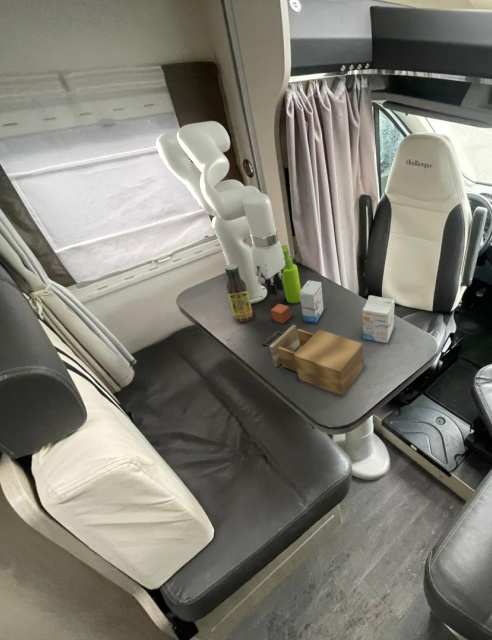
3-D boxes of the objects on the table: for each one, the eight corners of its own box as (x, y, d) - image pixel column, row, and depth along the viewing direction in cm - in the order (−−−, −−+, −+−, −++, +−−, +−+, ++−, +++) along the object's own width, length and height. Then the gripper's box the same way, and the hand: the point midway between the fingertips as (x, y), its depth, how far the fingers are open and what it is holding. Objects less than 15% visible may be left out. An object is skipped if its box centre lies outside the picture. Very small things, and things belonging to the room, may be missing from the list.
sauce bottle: (236, 324, 125) (219, 273, 111) (234, 315, 129) (218, 264, 115) (255, 320, 126) (241, 269, 113) (253, 311, 131) (239, 260, 117)
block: (273, 320, 127) (270, 309, 124) (281, 313, 129) (278, 303, 127) (283, 323, 125) (281, 313, 122) (291, 316, 128) (289, 306, 125)
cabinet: (298, 379, 105) (293, 354, 99) (322, 353, 114) (319, 329, 107) (342, 396, 101) (339, 371, 94) (363, 367, 109) (362, 343, 103)
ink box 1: (317, 323, 125) (312, 294, 117) (303, 321, 126) (298, 292, 118) (324, 309, 131) (321, 280, 123) (311, 307, 132) (307, 279, 124)
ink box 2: (362, 339, 119) (361, 305, 110) (369, 324, 125) (369, 290, 116) (387, 343, 117) (388, 309, 108) (393, 328, 123) (395, 294, 114)
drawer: (260, 360, 110) (254, 341, 105) (283, 339, 117) (279, 319, 112) (312, 380, 104) (308, 360, 99) (333, 356, 111) (330, 336, 106)
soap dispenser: (300, 292, 140) (292, 242, 126) (303, 301, 135) (295, 251, 122) (285, 294, 139) (275, 245, 125) (287, 304, 134) (277, 254, 120)
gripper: (271, 226, 114) (282, 278, 126) (235, 247, 103) (251, 301, 116) (291, 230, 112) (299, 283, 124) (256, 252, 101) (269, 307, 113)
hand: (276, 291), depth 120 cm, fingers closed
